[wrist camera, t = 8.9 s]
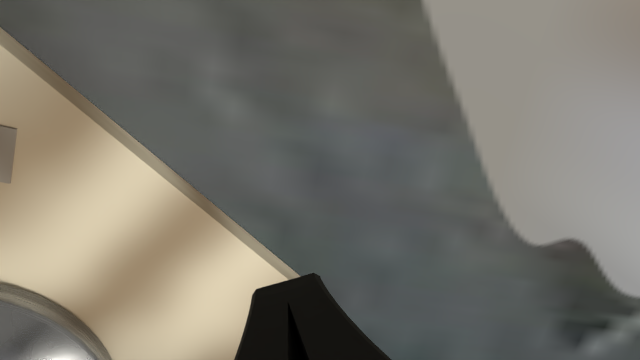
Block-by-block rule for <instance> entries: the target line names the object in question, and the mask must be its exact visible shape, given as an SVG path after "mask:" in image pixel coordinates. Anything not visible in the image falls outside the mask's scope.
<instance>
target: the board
mask: <svg viewBox="0 0 640 360" xmlns="http://www.w3.org/2000/svg"><path fill="white" fill-rule="evenodd" d="M297 277H301V276H299V275H298V274H297V273H296V272H295V271H293V270H292V269H291V268H290V267H289V266H287V265H286V264H285V263H284V262H283V261H281V260H280V259H279V258H278V257H276V256H275V255H274V254H273V253H272V252H270V251H269V250H268V249H267V248H266V247H264V246H263V245H262V244H261V243H260V242H258V241H257V240H256V239H255V238H254V237H252V236H251V235H250V234H249V233H248V232H246V231H245V230H244V229H243V228H242V227H240V226H239V225H238V224H237V223H236V222H234V221H233V220H232V219H231V218H230V217H228V216H227V215H226V214H225V213H223V212H222V211H221V210H220V209H219V208H217V207H216V206H215V205H214V204H213V203H211V202H210V201H209V200H208V199H207V198H205V197H204V196H203V195H202V194H201V193H199V192H198V191H197V190H196V189H195V188H193V187H192V186H191V185H190V184H189V183H187V182H186V181H185V180H184V179H183V178H181V177H180V176H179V175H178V174H176V173H175V172H174V171H173V170H172V169H170V168H169V167H168V166H167V165H166V164H164V163H163V162H162V161H161V160H160V159H158V158H157V157H156V156H155V155H154V154H152V153H151V152H150V151H149V150H148V149H146V148H145V147H144V146H143V145H142V144H140V143H139V142H138V141H137V140H136V139H134V138H133V137H132V136H131V135H129V134H128V133H127V132H126V131H125V130H123V129H122V128H121V127H120V126H119V125H117V124H116V123H115V122H114V121H113V120H111V119H110V118H109V117H108V116H107V115H105V114H104V113H103V112H102V111H101V110H99V109H98V108H97V107H96V106H95V105H93V104H92V103H91V102H90V101H89V100H87V99H86V98H85V97H84V96H82V95H81V94H80V93H79V92H78V91H76V90H75V89H74V88H73V87H72V86H70V85H69V84H68V83H67V82H66V81H64V80H63V79H62V78H61V77H60V76H58V75H57V74H56V73H55V72H54V71H52V70H51V69H50V68H49V67H48V66H46V65H45V64H44V63H43V62H42V61H40V60H39V59H38V58H37V57H35V56H34V55H33V54H32V53H31V52H29V51H28V50H27V49H26V48H25V47H23V46H22V45H21V44H20V43H19V42H17V41H16V40H15V39H14V38H13V37H11V36H10V35H9V34H8V33H7V32H5V31H4V30H3V29H2V28H1V27H0V284H3V285H7V286H11V287H15V288H19V289H22V290H24V291H27V292H30V293H33V294H36V295H38V296H40V297H43V298H45V299H47V300H49V301H51V302H53V303H55V304H57V305H59V306H60V307H62V308H63V309H65V310H67V311H68V312H70V313H71V314H73V315H74V316H75V317H77V318H78V319H79V320H80V321H82V322H83V323H84V324H85V325H87V326H88V327H89V328H90V329H91V331H92V332H93V333H94V334H95V335H96V336H97V337H98V338H99V339H100V341H101V342H102V343H103V345H104V346H105V348H106V349H107V350H108V352H109V354H110V356H111V358H112V360H234V359H235V356H236V353H237V350H238V347H239V344H240V341H241V338H242V335H243V331H244V328H245V325H246V321H247V317H248V313H249V309H250V304H251V299H252V294H253V293H254V291H255V290H256V289H258V288H261V287H265V286H269V285H272V284H276V283H279V282H283V281H287V280H290V279H294V278H297Z"/></svg>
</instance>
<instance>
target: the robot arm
mask: <svg viewBox="0 0 640 360" xmlns="http://www.w3.org/2000/svg"><path fill="white" fill-rule="evenodd" d="M234 360H391V359H390V358H389V357H388V356H387V355H386V354H385V353H384V352H382V351H381V350H380V349H379V348H378V347H377V346H376V345H375V344H374V343H373V342H372V341H371V340H370V339H369V338H368V337H367V336H366V335H365V334H364V333H363V332H362V331H361V330H360V329H359V328H358V327H357V326H356V324H355V323H354V322H353V321H352V320H351V319H350V318H349V317H348V316H347V315H346V313H345V312H344V311H343V310H342V309H341V307H340V306H339V305H338V304H337V302H336V301H335V300H334V298H333V297H332V296H331V294H330V293H329V292H328V290H327V288H326V287H325V285H324V284H323V282H322V280H321V278H320V276H318V275H317V274H315V273H312V274H308V275H304V276H301V277H297V278H294V279H290V280H287V281H283V282H279V283H276V284H272V285H269V286H265V287H261V288H258V289H256V290H255V291H254V293H253V294H252V299H251V304H250V309H249V313H248V317H247V321H246V325H245V328H244V331H243V335H242V338H241V341H240V344H239V347H238V350H237V353H236V356H235V359H234Z"/></svg>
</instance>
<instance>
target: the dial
mask: <svg viewBox="0 0 640 360" xmlns="http://www.w3.org/2000/svg"><path fill="white" fill-rule="evenodd" d="M0 360H112V358H111V356H110V354H109V352H108V350H107V349H106V348H105V346H104V345H103V343H102V342H101V341H100V339H99V338H98V337H97V336H96V335H95V334H94V333H93V332H92V331H91V329H90V328H89V327H88V326H87V325H85V324H84V323H83V322H82V321H80V320H79V319H78V318H77V317H75V316H74V315H73V314H71V313H70V312H68V311H67V310H65V309H63V308H62V307H60V306H59V305H57V304H55V303H53V302H51V301H49V300H47V299H45V298H43V297H40V296H38V295H36V294H33V293H30V292H27V291H24V290H22V289H19V288H15V287H11V286H7V285H3V284H0Z"/></svg>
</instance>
